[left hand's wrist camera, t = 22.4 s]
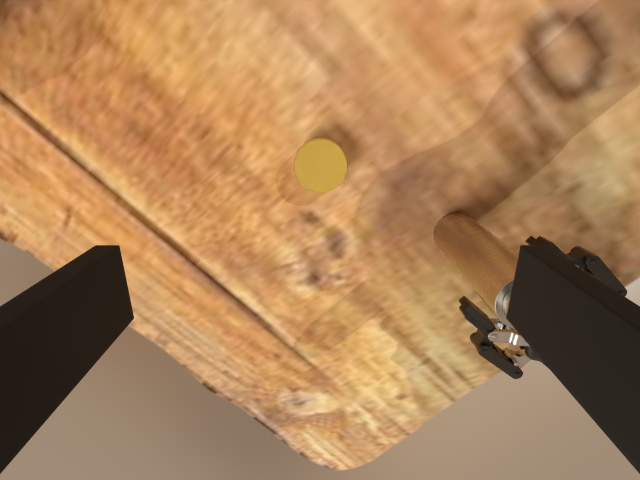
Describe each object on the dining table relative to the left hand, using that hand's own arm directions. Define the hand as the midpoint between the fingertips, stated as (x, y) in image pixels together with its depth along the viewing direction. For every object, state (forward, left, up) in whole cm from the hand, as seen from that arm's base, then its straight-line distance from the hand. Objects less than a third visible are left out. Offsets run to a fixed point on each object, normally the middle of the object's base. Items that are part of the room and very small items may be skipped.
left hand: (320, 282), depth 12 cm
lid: (0, 0, -26) cm, 26 cm away
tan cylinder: (+8, -15, -28) cm, 32 cm away
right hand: (+9, -17, -21) cm, 29 cm away
